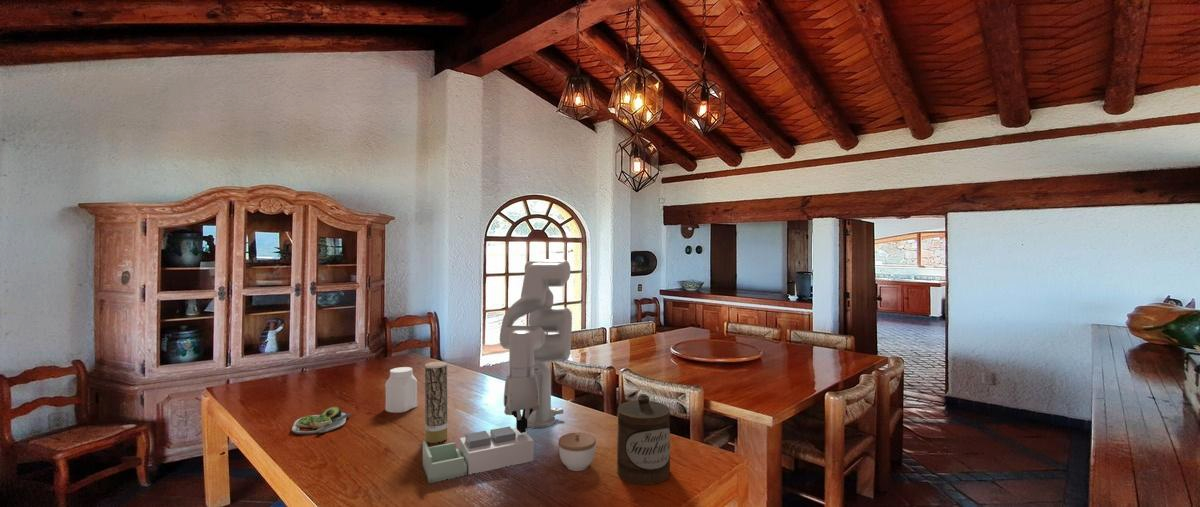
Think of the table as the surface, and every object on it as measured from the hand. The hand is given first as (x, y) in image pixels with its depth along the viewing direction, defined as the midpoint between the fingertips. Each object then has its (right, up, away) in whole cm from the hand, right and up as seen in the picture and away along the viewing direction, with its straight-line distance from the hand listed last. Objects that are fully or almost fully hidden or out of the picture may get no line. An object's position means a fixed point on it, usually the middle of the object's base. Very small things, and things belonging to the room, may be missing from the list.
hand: (521, 431), depth 147 cm
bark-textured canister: (-30, -7, +11) cm, 32 cm away
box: (-20, -7, -10) cm, 24 cm away
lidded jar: (+17, -8, -8) cm, 20 cm away
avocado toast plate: (-75, -7, +24) cm, 79 cm away
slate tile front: (-12, -1, -6) cm, 13 cm away
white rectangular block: (-7, -7, -3) cm, 11 cm away
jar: (-54, -7, +42) cm, 69 cm away
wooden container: (+36, -8, -11) cm, 39 cm away
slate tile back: (-5, -1, -3) cm, 6 cm away
